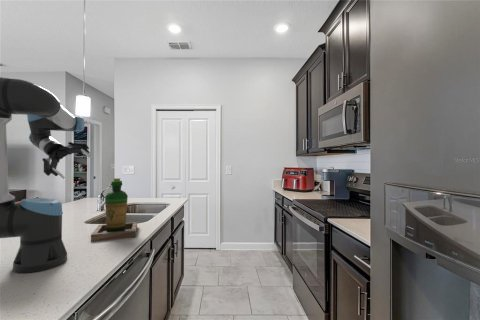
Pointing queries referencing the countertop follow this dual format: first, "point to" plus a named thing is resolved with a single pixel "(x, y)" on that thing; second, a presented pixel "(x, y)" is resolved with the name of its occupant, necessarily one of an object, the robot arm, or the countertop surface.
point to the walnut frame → (102, 233)
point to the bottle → (116, 207)
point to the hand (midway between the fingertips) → (77, 166)
